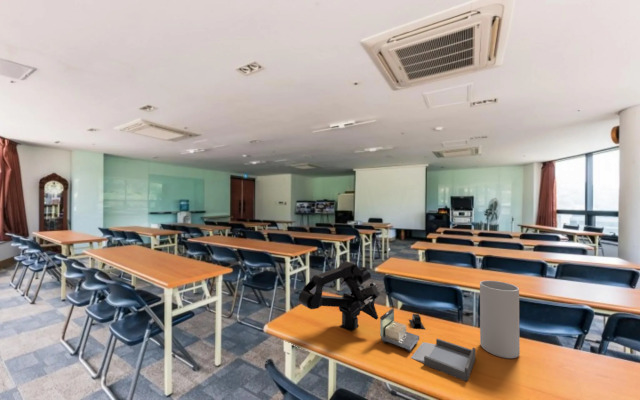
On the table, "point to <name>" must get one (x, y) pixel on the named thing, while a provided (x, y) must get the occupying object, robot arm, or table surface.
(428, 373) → the table surface
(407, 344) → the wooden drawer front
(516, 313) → the cylinder vase
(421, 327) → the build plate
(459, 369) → the dock
